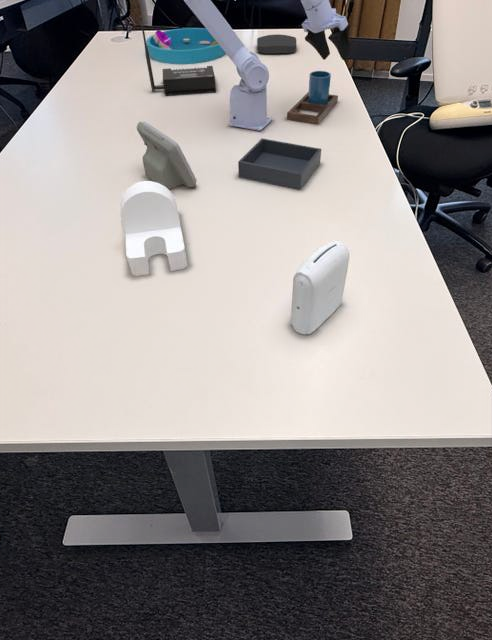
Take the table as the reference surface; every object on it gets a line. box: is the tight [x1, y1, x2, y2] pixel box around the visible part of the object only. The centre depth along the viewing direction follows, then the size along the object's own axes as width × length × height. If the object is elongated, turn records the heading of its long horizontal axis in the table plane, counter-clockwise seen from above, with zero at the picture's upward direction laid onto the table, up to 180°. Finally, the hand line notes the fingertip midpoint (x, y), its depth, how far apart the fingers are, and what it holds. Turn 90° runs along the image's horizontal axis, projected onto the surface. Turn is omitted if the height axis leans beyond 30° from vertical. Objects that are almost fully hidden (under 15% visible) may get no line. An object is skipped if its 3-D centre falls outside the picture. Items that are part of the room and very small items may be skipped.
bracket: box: [120, 180, 188, 277], centre depth 79 cm, size 19×10×11 cm, turn 12°
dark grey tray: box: [237, 138, 322, 191], centre depth 100 cm, size 15×13×4 cm
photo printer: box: [290, 240, 351, 336], centre depth 65 cm, size 10×4×12 cm, turn 140°
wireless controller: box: [141, 24, 217, 97], centre depth 132 cm, size 20×14×17 cm
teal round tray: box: [146, 27, 227, 65], centre depth 161 cm, size 30×30×6 cm
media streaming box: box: [256, 34, 297, 54], centre depth 162 cm, size 15×15×3 cm
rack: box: [286, 92, 339, 125], centre depth 124 cm, size 9×17×2 cm, turn 156°
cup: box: [307, 70, 332, 105], centre depth 124 cm, size 6×6×8 cm
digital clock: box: [136, 121, 197, 190], centre depth 96 cm, size 16×9×11 cm, turn 26°
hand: (336, 57), depth 112 cm, fingers open, 7 cm apart
